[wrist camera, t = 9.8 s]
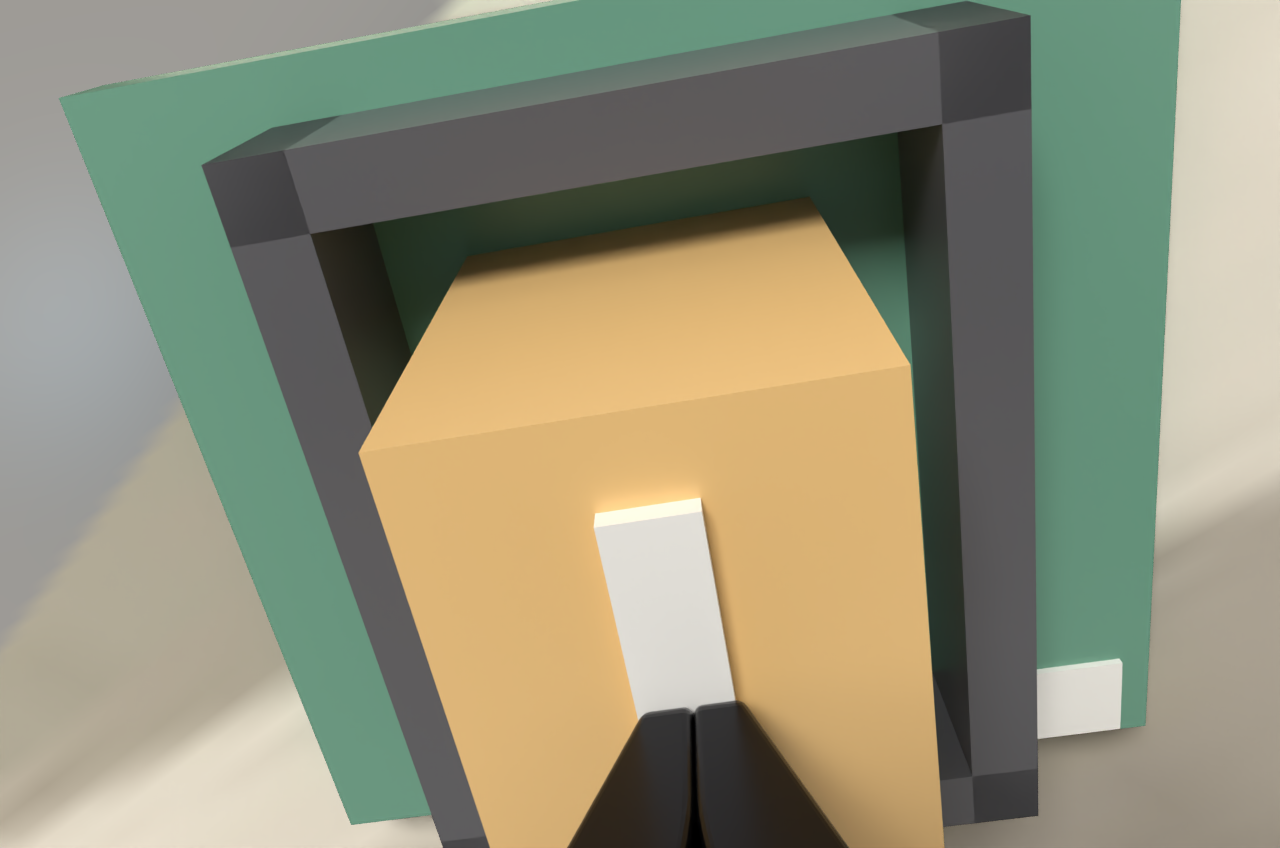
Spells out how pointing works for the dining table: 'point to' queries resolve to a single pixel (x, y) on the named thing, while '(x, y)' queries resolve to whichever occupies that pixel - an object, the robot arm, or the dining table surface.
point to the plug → (666, 517)
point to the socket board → (659, 192)
